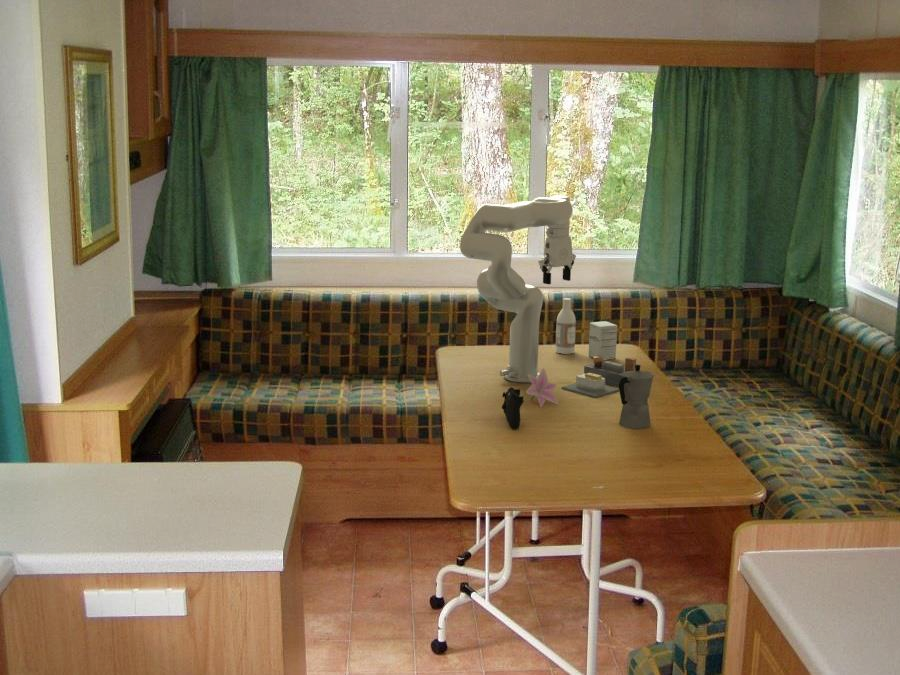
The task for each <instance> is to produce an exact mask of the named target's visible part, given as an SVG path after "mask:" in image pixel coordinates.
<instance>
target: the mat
mask: <svg viewBox="0 0 900 675" xmlns="http://www.w3.org/2000/svg"><path fill="white" fill-rule="evenodd" d="M561 390H566V391H569V392H573V393H577V394H580V395H583V396H587V397H590V398H594V399H598V398H599V397H603V396H606V395H610V394H613V393H616V392H620V390H619V388H617V387H612V386H609V385H605V389H604V390H600V391H597V392H594V391H590V390H586V389H582V388H579V387H576V382H575V383H570V384H568V385H567V384H566V385H563V386H561Z"/></svg>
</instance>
